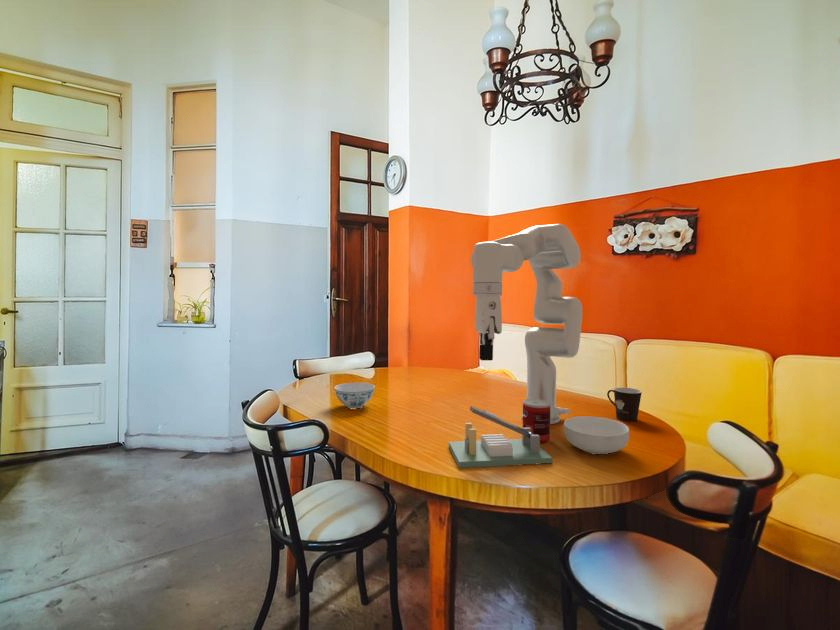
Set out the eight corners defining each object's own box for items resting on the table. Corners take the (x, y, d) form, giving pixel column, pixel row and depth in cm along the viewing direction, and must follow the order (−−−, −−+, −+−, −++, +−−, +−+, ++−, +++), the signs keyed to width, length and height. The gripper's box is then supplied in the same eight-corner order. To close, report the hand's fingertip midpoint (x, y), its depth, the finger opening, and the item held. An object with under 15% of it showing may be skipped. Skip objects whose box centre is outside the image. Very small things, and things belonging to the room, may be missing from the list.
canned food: (528, 432, 129) (529, 397, 128) (553, 438, 123) (554, 401, 123) (517, 439, 123) (518, 402, 122) (543, 445, 118) (544, 407, 117)
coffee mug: (645, 422, 138) (646, 393, 138) (620, 422, 138) (621, 393, 138) (628, 412, 150) (629, 385, 150) (604, 412, 150) (605, 385, 150)
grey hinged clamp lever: (529, 436, 113) (532, 430, 113) (534, 441, 109) (537, 435, 109) (468, 409, 111) (471, 403, 111) (472, 414, 107) (475, 407, 107)
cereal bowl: (564, 436, 125) (565, 413, 125) (625, 443, 119) (626, 419, 119) (562, 456, 110) (562, 430, 109) (632, 466, 104) (632, 438, 103)
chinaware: (339, 401, 164) (339, 382, 164) (377, 402, 164) (377, 382, 163) (330, 412, 149) (330, 391, 149) (371, 412, 149) (371, 391, 148)
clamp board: (531, 443, 119) (531, 416, 118) (552, 463, 105) (552, 432, 104) (448, 446, 116) (449, 418, 116) (459, 467, 102) (459, 436, 102)
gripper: (510, 289, 101) (508, 364, 102) (493, 290, 116) (491, 355, 117) (480, 289, 100) (479, 364, 101) (467, 290, 115) (465, 356, 116)
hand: (486, 359), depth 109 cm, fingers closed
